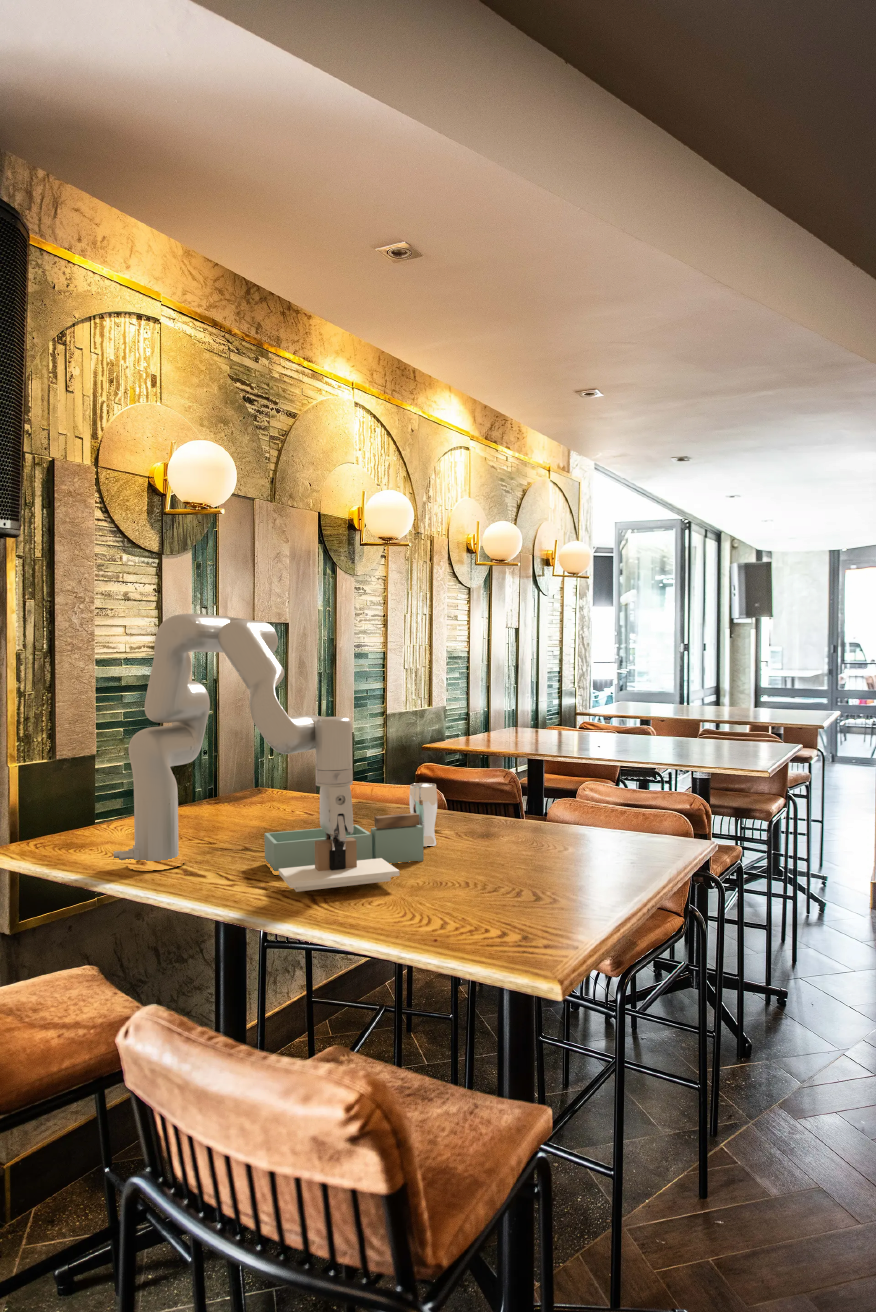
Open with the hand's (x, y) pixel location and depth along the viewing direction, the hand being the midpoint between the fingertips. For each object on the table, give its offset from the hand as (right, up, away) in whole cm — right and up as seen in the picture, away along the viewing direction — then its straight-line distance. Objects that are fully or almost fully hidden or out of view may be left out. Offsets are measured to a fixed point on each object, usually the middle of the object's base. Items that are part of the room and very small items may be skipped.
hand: (335, 866), depth 172 cm
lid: (+1, -2, -2) cm, 3 cm away
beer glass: (+18, -4, +38) cm, 42 cm away
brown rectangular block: (+12, +4, +21) cm, 24 cm away
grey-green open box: (-1, -4, +21) cm, 21 cm away
